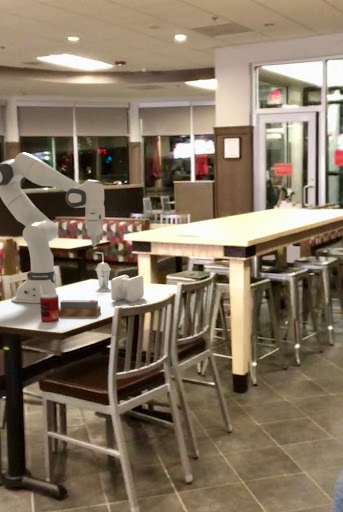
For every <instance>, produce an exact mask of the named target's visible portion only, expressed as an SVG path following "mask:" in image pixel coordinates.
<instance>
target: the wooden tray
mask: <svg viewBox="0 0 343 512" xmlns="http://www.w3.org/2000/svg"><path fill="white" fill-rule="evenodd" d="M101 308H102V307H101V306H100V305H98V308H97V309H61V307H60V306H59V317H79V318H80V317H81V318H82V317H83V318H85V317H89V318H91V317H95V318H97V317H98V316H99V315H100V314H101V311H102V310H101Z"/></svg>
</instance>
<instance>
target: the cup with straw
mask: <svg viewBox="0 0 343 512" xmlns="http://www.w3.org/2000/svg"><path fill="white" fill-rule="evenodd" d="M94 254H100V255H101V256H102V261H101V262H99V263H98V264H97V266H96V268H95V271H96V274H97V279H98V286H99V289H109V280H110V271H111V270H112V268H111V267H110V264H108V263H107V262H104V259H105V258H104V252H100V251H94Z"/></svg>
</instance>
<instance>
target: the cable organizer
mask: <svg viewBox="0 0 343 512" xmlns="http://www.w3.org/2000/svg"><path fill="white" fill-rule="evenodd" d="M110 289H111V290H110V292H111V300H112V301H115V302H119V301H120V300H124V299H126V300H127V301H128V302H129V303H134V302H135V301H140V300H141V299H142V298H143V297H144V294H145V293H144V277H143V275H137V276H134V277H130V276H129V275H127V274H123V275H120V276H117V277H113V278H112V279H111V281H110Z"/></svg>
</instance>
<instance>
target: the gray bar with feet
mask: <svg viewBox="0 0 343 512" xmlns="http://www.w3.org/2000/svg"><path fill="white" fill-rule="evenodd" d="M59 305H60V306H59V307H61V309H97V308H98V306H99V301H98V300H96V299H90V300H89V299H88V300H85V299H84V300H80V299H77V300H76V299H75V300H71V299H66V300H65V299H62V300H60V303H59Z"/></svg>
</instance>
